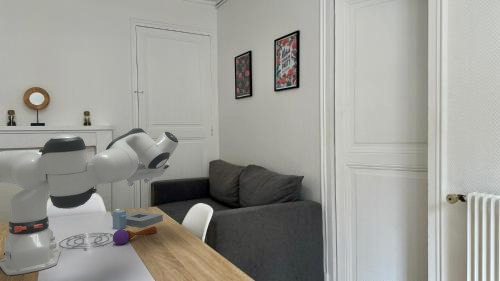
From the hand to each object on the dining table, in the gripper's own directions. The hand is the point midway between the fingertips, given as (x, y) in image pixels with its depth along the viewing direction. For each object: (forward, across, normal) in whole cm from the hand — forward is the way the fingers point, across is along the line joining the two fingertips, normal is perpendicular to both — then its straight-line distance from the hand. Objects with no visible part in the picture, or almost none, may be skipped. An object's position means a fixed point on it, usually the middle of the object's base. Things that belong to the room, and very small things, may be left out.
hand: (137, 183), depth 155 cm
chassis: (+24, +12, -6) cm, 28 cm away
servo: (+24, 0, -7) cm, 25 cm away
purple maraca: (+10, -9, -21) cm, 25 cm away
